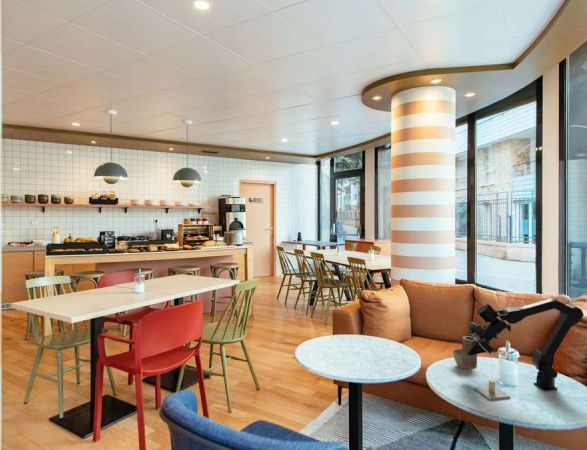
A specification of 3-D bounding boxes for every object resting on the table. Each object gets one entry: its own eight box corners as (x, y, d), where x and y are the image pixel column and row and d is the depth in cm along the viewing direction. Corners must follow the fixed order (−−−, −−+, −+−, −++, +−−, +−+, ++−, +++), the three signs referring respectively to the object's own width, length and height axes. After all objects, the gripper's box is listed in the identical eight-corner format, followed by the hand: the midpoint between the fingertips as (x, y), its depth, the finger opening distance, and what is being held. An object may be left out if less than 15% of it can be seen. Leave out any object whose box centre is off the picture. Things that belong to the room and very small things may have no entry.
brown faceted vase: (470, 362, 183) (471, 335, 182) (479, 368, 177) (480, 340, 177) (459, 364, 182) (460, 336, 181) (467, 369, 176) (468, 341, 175)
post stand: (493, 387, 174) (494, 375, 174) (510, 398, 164) (510, 385, 164) (473, 389, 172) (474, 377, 172) (489, 400, 162) (489, 388, 162)
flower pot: (448, 363, 199) (448, 350, 198) (464, 361, 202) (464, 347, 201) (462, 372, 189) (462, 357, 189) (478, 369, 192) (479, 355, 192)
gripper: (474, 311, 187) (449, 332, 189) (486, 323, 168) (458, 346, 171) (491, 328, 186) (466, 349, 188) (505, 342, 167) (477, 365, 170)
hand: (466, 351), depth 180 cm, fingers closed on brown faceted vase, 6 cm apart
